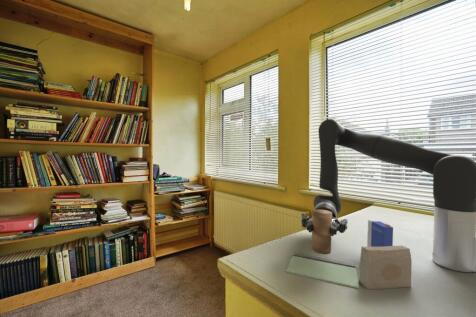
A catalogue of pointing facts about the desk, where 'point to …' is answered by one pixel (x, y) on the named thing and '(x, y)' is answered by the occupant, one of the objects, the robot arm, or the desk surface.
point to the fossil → (385, 267)
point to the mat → (324, 271)
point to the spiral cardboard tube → (321, 231)
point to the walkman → (379, 234)
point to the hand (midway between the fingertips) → (321, 230)
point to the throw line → (325, 260)
